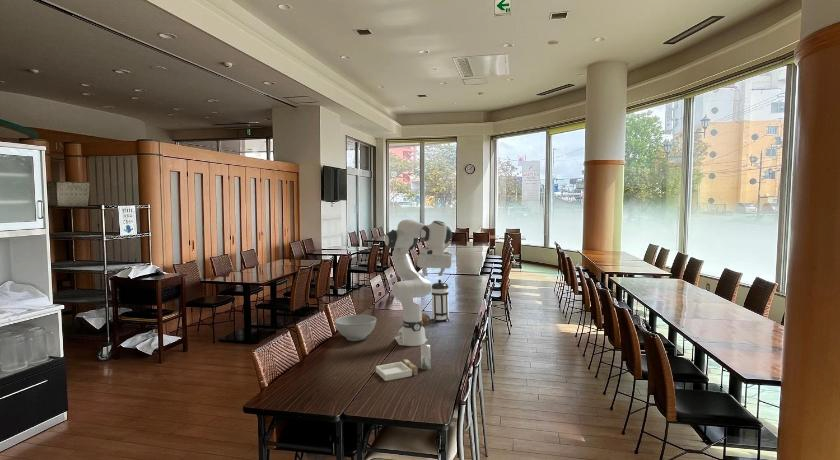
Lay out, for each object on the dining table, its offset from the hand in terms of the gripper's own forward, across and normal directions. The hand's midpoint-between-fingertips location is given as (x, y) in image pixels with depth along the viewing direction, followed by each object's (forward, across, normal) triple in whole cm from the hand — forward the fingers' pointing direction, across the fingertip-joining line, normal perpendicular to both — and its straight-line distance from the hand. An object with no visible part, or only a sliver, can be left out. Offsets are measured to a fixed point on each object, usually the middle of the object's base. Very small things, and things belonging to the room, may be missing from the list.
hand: (432, 275), depth 253 cm
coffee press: (+48, -52, -63) cm, 94 cm away
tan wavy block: (+46, +16, +15) cm, 51 cm away
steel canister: (+45, +7, +15) cm, 48 cm away
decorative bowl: (+54, +16, -56) cm, 80 cm away
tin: (+50, -32, -59) cm, 84 cm away
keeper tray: (+47, +25, +14) cm, 55 cm away
